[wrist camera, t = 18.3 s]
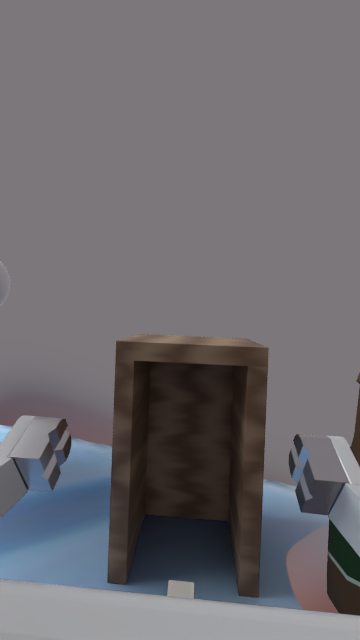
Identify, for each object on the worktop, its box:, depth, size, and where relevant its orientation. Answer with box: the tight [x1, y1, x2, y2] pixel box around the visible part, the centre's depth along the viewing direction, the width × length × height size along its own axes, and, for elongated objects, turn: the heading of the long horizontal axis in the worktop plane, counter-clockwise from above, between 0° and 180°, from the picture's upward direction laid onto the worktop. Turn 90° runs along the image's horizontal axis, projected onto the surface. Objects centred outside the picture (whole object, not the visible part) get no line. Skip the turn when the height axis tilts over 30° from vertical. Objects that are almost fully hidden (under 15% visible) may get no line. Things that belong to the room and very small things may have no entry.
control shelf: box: [107, 334, 269, 597], centre depth 37 cm, size 16×13×26 cm
